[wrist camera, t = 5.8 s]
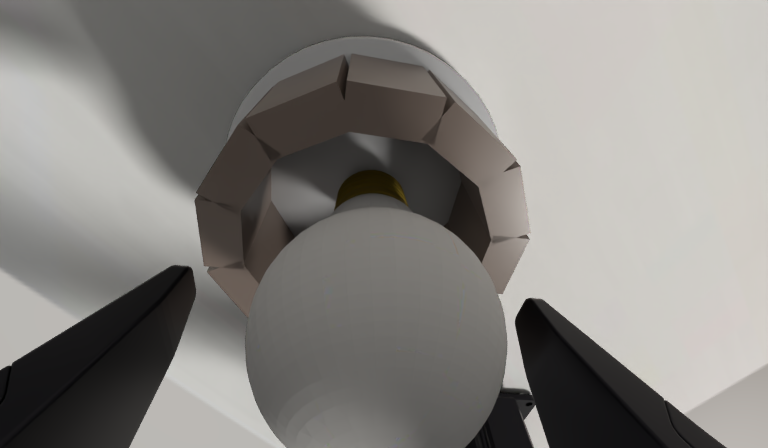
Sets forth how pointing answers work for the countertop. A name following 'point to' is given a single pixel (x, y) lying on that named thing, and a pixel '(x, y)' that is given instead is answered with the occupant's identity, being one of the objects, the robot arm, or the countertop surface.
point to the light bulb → (375, 330)
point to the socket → (357, 158)
